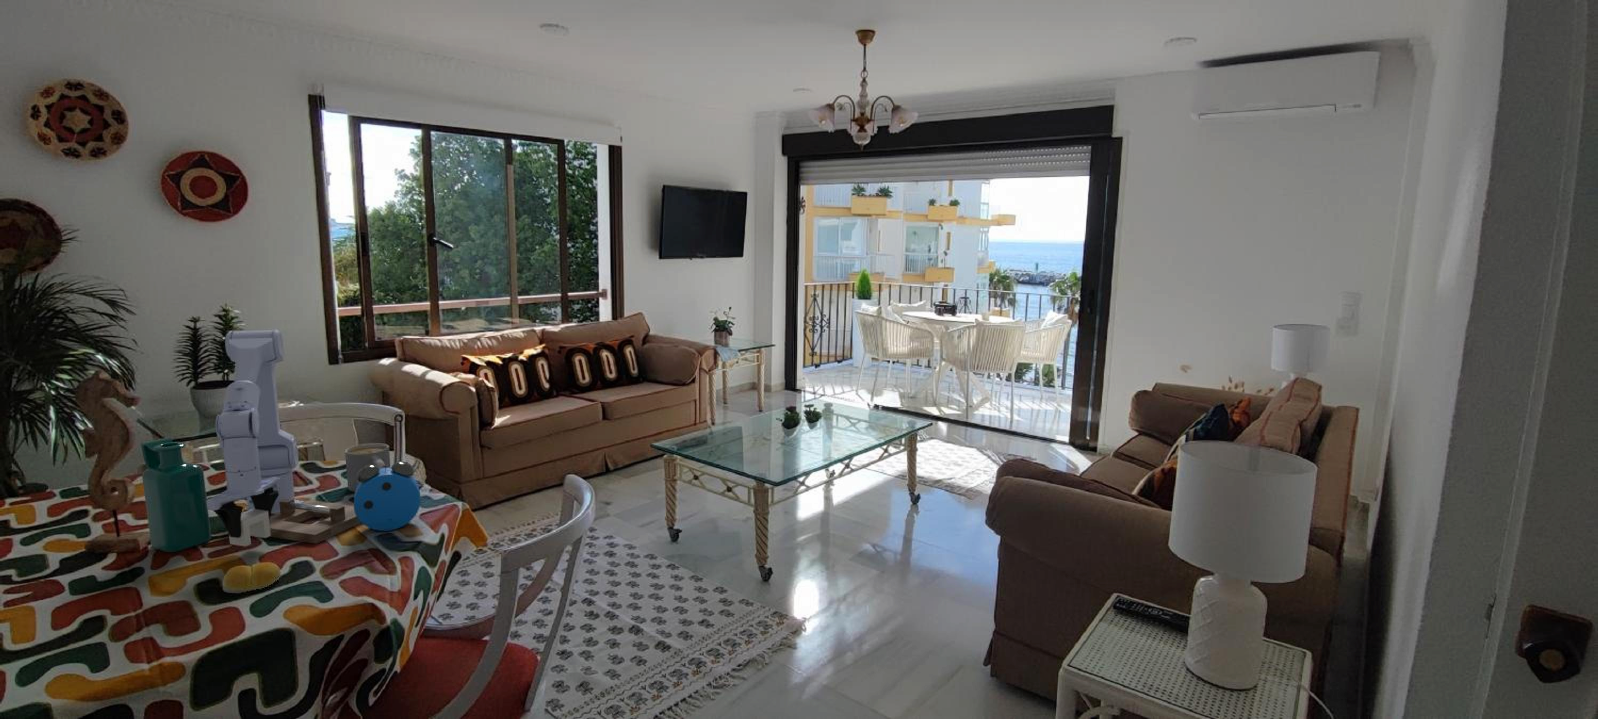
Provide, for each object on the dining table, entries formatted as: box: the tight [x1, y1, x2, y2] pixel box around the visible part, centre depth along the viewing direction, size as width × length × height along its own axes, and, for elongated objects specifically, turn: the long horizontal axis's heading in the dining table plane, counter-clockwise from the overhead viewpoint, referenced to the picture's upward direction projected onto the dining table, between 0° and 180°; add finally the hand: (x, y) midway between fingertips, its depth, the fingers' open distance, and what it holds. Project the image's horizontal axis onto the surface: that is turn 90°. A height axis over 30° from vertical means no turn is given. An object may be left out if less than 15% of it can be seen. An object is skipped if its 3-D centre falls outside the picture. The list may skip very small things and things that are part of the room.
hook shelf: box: [249, 499, 362, 544], centre depth 173 cm, size 18×16×5 cm
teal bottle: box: [140, 437, 212, 553], centre depth 160 cm, size 10×8×22 cm
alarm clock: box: [353, 460, 422, 532], centre depth 172 cm, size 13×6×15 cm, turn 119°
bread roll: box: [222, 561, 281, 594], centre depth 145 cm, size 8×9×4 cm
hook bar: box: [288, 502, 331, 514], centre depth 172 cm, size 14×1×1 cm, turn 76°
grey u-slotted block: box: [228, 509, 271, 547], centre depth 158 cm, size 4×6×6 cm
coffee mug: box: [344, 442, 392, 493], centre depth 197 cm, size 13×10×10 cm
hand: (249, 530), depth 158 cm, fingers closed on grey u-slotted block, 6 cm apart
